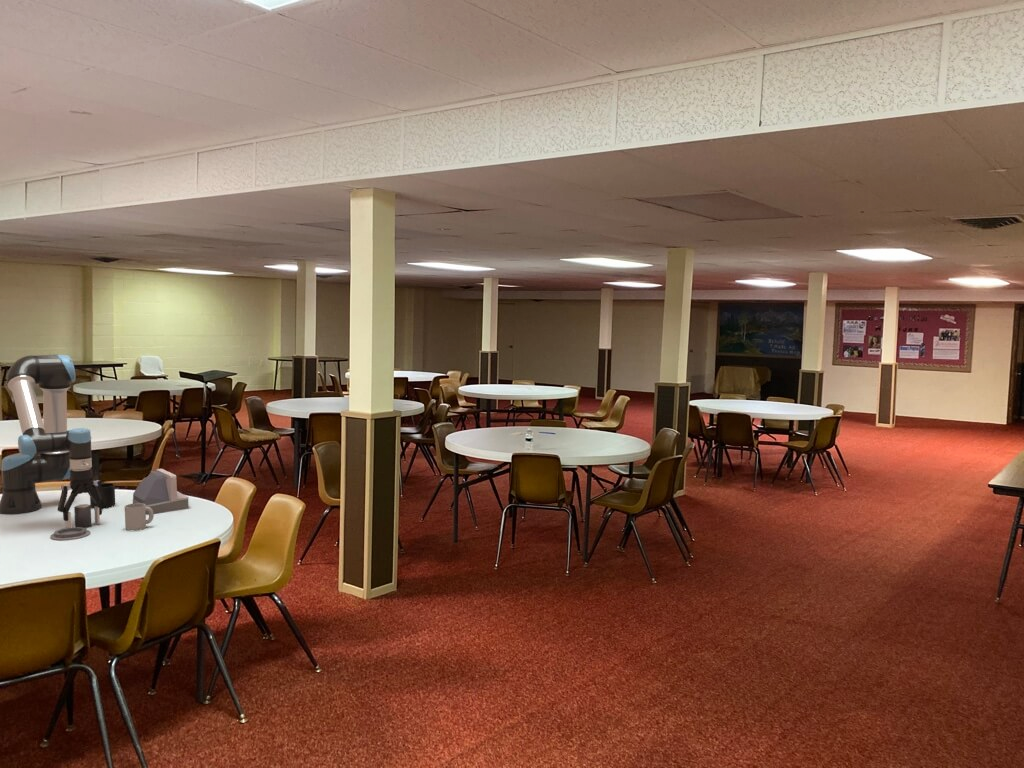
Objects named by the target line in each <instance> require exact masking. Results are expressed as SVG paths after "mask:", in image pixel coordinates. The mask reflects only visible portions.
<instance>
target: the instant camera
mask: <svg viewBox="0 0 1024 768" xmlns="http://www.w3.org/2000/svg"><path fill="white" fill-rule="evenodd" d="M177 482H178V481H177V475H176V474H174V473H172V472H170V471H167V470H165V469H164V468H156V469H155V470H153V471H149V474H148V476H146V477H143V479H142V480H141V481H140V483H139V484H138V485H137V487H136V489H135V490H134V492H132V493H133V494H132V504H134V503H143V504H145V507H150V508H151V509H152V510H153V513H154V515H155V514H162V513H169V512H174V511H181V510H187V509H189V507H190V506H189V496H188V495H186V494H183V493H182V492H180V491H178V488H177V487H178V485H177ZM146 516H149V512H148V511H146Z"/></svg>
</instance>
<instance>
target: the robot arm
mask: <svg viewBox="0 0 1024 768" xmlns="http://www.w3.org/2000/svg"><path fill="white" fill-rule="evenodd" d="M76 377H77V376H76V370H75V365H74V361H73V360H72V358H71V356H69V355H67V354H41V355H32V354H31V355H25V356H23V357H20V358H18V359H16V361H15V362H13V364H12V365H11V366H10V368H9V370H8V372H7V374H6V384H7V389H8V390H10V391H11V392H12V398H13V400H14V405H15V409H16V413H17V418H18V421H19V426H20V430H21V434H22V435H19V436H18V439H17V445H18V447H17V448H18V453H14V454H9V455H6V456H5V457H3V459H2V460H1V469H0V471H1V477H2V478H1V480H2V494H1V498H0V514H6V515H15V514H25V513H31V512H34V511H39V510H40V509H42V502H41V499H40V497H39V494H38V492H37V489H36V488H37V487H36V484H39V483H47V482H54V481H57V482H58V481H63V480H68V479H69V481H70V482H69V484H66V485H64V484H63V485H61V488H60V489H61V493H60V498H59V502H58V506H57V512H60V513H62V514H63V515H62V517H63V518H62V519H63V521H64V522H65V525H66V526H65V527H66V528H70V527H72V516H71V515H72V514H71V511H70V509H71V507H72V505H73V504H74V502H75V499H76V498H77V496H78V495H81V494H86V493H87V494H88V495H89V498H90V497H91V498H92V500H93V501H94V503H95V504H96V505H97V506H96V507H94V524H96V525H100V524H101V517H100V516H101V515H102V513H103V511H102V510H103V509H102V507H103V505H106V504H107V502H106V499H105V496H104V493H103V490H102V487H101V483H102V481H101V480H99V479H96V480H94V479H93V469H92V467H93V463H92V460H93V458H92V436H91V434H92V433H91V430H90V429H89V428H84V427H82V428H81V427H80V428H72V429H68V412H67V411H68V405H67V402H68V401H67V400H68V399H67V391H68V390H69V389H71V386H72V385H71V384H72V383H75V382H76ZM36 385H38V388H39V389H40V390H41V391H42V393H43V394H42V397H43V398H42V401H43V402H42V403H43V404H42V405H43V408H42V409H43V411H42V412H43V414H42V413H41V411H40V407H39V402H38V399H37V394H36V389H35V386H36ZM42 415H43V419H42ZM93 485H94V486H96V490H97V492H98V495H99V498H100V501H101V502H100V501H99V500H98V498H97V497H96V495H95V494H94V493H93V491H92V489H91V487H92V486H93ZM70 489H71V491H70V495H69V497H68V494H69V493H68V491H69V490H70ZM67 497H68V498H67Z"/></svg>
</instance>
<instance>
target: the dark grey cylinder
mask: <svg viewBox="0 0 1024 768" xmlns="http://www.w3.org/2000/svg"><path fill="white" fill-rule="evenodd" d="M73 508H74V511H73V512H74V527H83V528H86V529H88V528H92V508H91V505H90V504H88V503H86V504H78V505H75V506H74V507H73Z"/></svg>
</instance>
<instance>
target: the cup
mask: <svg viewBox="0 0 1024 768" xmlns="http://www.w3.org/2000/svg"><path fill="white" fill-rule="evenodd" d="M146 511H148V512H149V515H148V518H147V515H146ZM154 517H155V514H154V513H153V510H152V509H151V508H150V507H145V504H143V503H134V504H133V503H128V504H126V505H124V523H125V524H124V525H125V530H126V529H127V531H130V530H134V531H140V529H141V530H144V529H146V527H147V525H148V524H151V523H152V521H153V520H154Z"/></svg>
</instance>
